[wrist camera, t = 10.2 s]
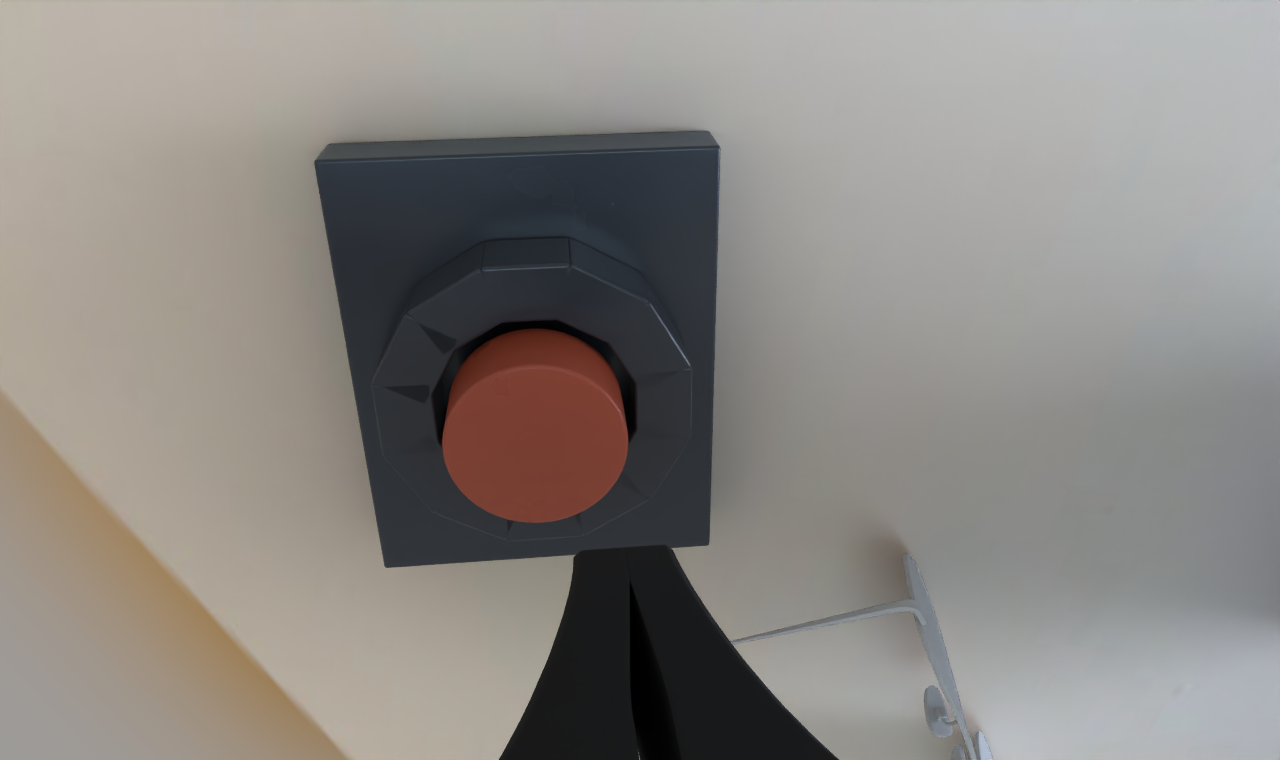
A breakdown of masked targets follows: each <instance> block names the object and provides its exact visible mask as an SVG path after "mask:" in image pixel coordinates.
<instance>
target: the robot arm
mask: <svg viewBox="0 0 1280 760" xmlns="http://www.w3.org/2000/svg"><path fill="white" fill-rule="evenodd" d="M637 747H638V748H637ZM638 752H639V754H638ZM639 756H640V760H839V759H838V758H837V757H835V756H834V755H833V754H832V753H831V752H830V751H829V750H828V749H827V748H826V747H825V746H824V745H823V744H822V743H820V742H819V741H818V740H817V739H816V738H815V737H814V736H813V735H812V734H811V733H810V732H809V731H808V730H807V729H806V728H805V727H804V726H803V725H802V724H801V723H800V722H799V721H798V720H797V719H796V718H795V717H794V716H793V715H792V714H791V713H790V712H789V711H788V710H787V709H786V708H785V707H784V706H783V705H782V703H781V702H780V701H779V700H778V699H777V698H776V697H775V696H774V695H773V694H772V692H771V691H770V690H769V689H768V688H767V687H766V686H765V684H764V683H763V682H762V681H761V680H760V678H759V677H758V676H757V675H756V674H755V672H754V671H753V670H752V669H751V668H750V667H749V665H748V664H747V663H746V662H745V660H744V659H743V658H742V657H741V655H740V654H739V653H738V651H737V650H736V649H735V648H734V646H733V645H732V644H731V642H730V641H729V639H728V638H727V637H726V635H725V634H724V633H723V631H722V630H721V628H720V627H719V626H718V624H717V623H716V622H715V620H714V619H713V617H712V616H711V614H710V613H709V611H708V610H707V609H706V607H705V606H704V604H703V602H702V601H701V599H700V598H699V596H698V595H697V593H696V591H695V590H694V588H693V587H692V585H691V583H690V582H689V580H688V578H687V576H686V575H685V573H684V571H683V569H682V567H681V566H680V564H679V562H678V560H677V558H676V556H675V553H674V551H673V550H672V549H671V548H669V547H668V546H667V545H666V544H665V545H651V546H636V547H622V548H607V549H593V550H581V551H580V552H579V553H578V554H577V555H576V556H574V561H573V574H572V581H571V586H570V591H569V595H568V599H567V603H566V606H565V610H564V614H563V617H562V620H561V623H560V626H559V629H558V632H557V635H556V638H555V640H554V643H553V646H552V649H551V652H550V655H549V657H548V660H547V662H546V665H545V667H544V669H543V671H542V674H541V676H540V678H539V681H538V683H537V685H536V688H535V690H534V692H533V695H532V697H531V699H530V701H529V703H528V706H527V708H526V710H525V712H524V714H523V716H522V718H521V720H520V722H519V724H518V726H517V728H516V730H515V731H514V733H513V735H512V737H511V739H510V741H509V742H508V744H507V746H506V748H505V750H504V752H503V753H502V755H501V757H500V759H499V760H639Z"/></svg>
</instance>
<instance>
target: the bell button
mask: <svg viewBox="0 0 1280 760" xmlns="http://www.w3.org/2000/svg"><path fill="white" fill-rule="evenodd" d="M442 449H443V456H444V461H445V464H446V467H447V470H448V472H449V474H450V476H451V478H452V480H453V481H454V483H455V484H456V485H457V487H458V488H459V489H460V491H461V492H462V493H463V494H464V495H465V496H466V497H467V498H468V499H469V500H471V501H472V502H473V503H474V504H476V505H477V506H479V507H480V508H482V509H484V510H485V511H487V512H489V513H491V514H494V515H496V516H499V517H502V518H505V519H508V520H513V521H518V522H527V523H543V522H551V521H556V520H561V519H565V518H568V517H571V516H573V515H576V514H578V513H580V512H582V511H584V510H586V509H588V508H589V507H591V506H592V505H594V504H595V503H597V502H598V501H599V500H600V499H601V498H603V497H604V496H605V495H606V494H607V492H608V491H609V490H610V489H611V488H612V487H613V485H614V484H615V482H616V481H617V480H618V478H619V476H620V474H621V472H622V470H623V467H624V465H625V462H626V458H627V453H628V431H627V425H626V419H625V413H624V407H623V401H622V395H621V390H620V386H619V382H618V380H617V377H616V375H615V373H614V371H613V370H612V368H611V366H610V364H609V363H608V362H607V361H606V360H605V358H604V357H603V356H602V355H601V354H600V353H599V352H598V351H597V350H596V349H594V348H593V347H592V346H590V345H589V344H587V343H586V342H584V341H582V340H580V339H579V338H577V337H574V336H572V335H569V334H567V333H563V332H560V331H556V330H549V329H522V330H516V331H512V332H508V333H505V334H502V335H500V336H497V337H495V338H493V339H491V340H489V341H487V342H486V343H484V344H483V345H481V346H480V347H478V348H477V349H476V350H475V351H474V352H473V353H471V354H470V355H469V356H468V358H467V359H466V360H465V361H464V362H463V364H462V365H461V367H460V368H459V370H458V372H457V373H456V376H455V378H454V380H453V383H452V387H451V390H450V395H449V401H448V407H447V412H446V418H445V424H444V430H443V438H442Z"/></svg>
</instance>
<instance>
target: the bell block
mask: <svg viewBox="0 0 1280 760" xmlns="http://www.w3.org/2000/svg"><path fill="white" fill-rule="evenodd" d="M314 165H315V170H316V176H317V182H318V188H319V193H320V199H321V205H322V211H323V216H324V222H325V228H326V233H327V239H328V245H329V251H330V256H331V262H332V268H333V274H334V279H335V285H336V291H337V297H338V302H339V308H340V314H341V319H342V325H343V331H344V337H345V342H346V348H347V354H348V360H349V365H350V371H351V377H352V383H353V388H354V394H355V400H356V405H357V411H358V417H359V423H360V428H361V434H362V440H363V446H364V451H365V457H366V463H367V469H368V474H369V480H370V486H371V492H372V497H373V503H374V509H375V514H376V520H377V526H378V532H379V537H380V543H381V549H382V555H383V560H384V566H385V567H386V568H392V567H406V566H421V565H435V564H449V563H464V562H478V561H492V560H507V559H521V558H535V557H550V556H564V555H577V554H578V553H579V552H580V551H581V550H593V549H607V548H622V547H636V546H651V545H665V544H666V545H667V546H668V547H669V548H679V547H693V546H707V545H709V540H710V504H711V468H712V432H713V396H714V360H715V324H716V288H717V252H718V216H719V180H720V146H719V145H718V143H717V142H716V140H715V139H714V138H713V136H712V135H711V133H710V132H709V131H689V132H660V133H631V134H602V135H573V136H544V137H515V138H486V139H457V140H428V141H399V142H369V143H340V144H329V145H327V146H326V148H325V149H324V150H323V151H322V152H321V154H320V155H319V156H318V157H317V159H316V160H315V162H314ZM522 329H549V330H556V331H560V332H563V333H567V334H569V335H572V336H574V337H577V338H579V339H580V340H582V341H584V342H586V343H587V344H589V345H590V346H592V347H593V348H594V349H596V350H597V351H598V352H599V353H600V354H601V355H602V356H603V357H604V358H605V360H606V361H607V362H608V363H609V364H610V366H611V368H612V370H613V371H614V373H615V375H616V377H617V380H618V382H619V386H620V390H621V395H622V401H623V407H624V413H625V419H626V425H627V431H628V453H627V458H626V462H625V465H624V467H623V470H622V472H621V474H620V476H619V478H618V480H617V481H616V482H615V484H614V485H613V487H612V488H611V489H610V490H609V491H608V492H607V494H606V495H605V496H604V497H603V498H601V499H600V500H599V501H598V502H597V503H595V504H594V505H592V506H591V507H589V508H588V509H586V510H584V511H582V512H580V513H578V514H576V515H573V516H571V517H568V518H565V519H561V520H556V521H551V522H543V523H527V522H518V521H513V520H508V519H505V518H502V517H499V516H496V515H494V514H491V513H489V512H487V511H485V510H484V509H482V508H480V507H479V506H477V505H476V504H474V503H473V502H472V501H471V500H469V499H468V498H467V497H466V496H465V495H464V494H463V493H462V492H461V491H460V489H459V488H458V487H457V485H456V484H455V483H454V481H453V480H452V478H451V476H450V474H449V472H448V470H447V467H446V464H445V461H444V456H443V449H442V438H443V430H444V424H445V418H446V412H447V407H448V401H449V395H450V390H451V387H452V383H453V380H454V378H455V376H456V373H457V372H458V370H459V368H460V367H461V365H462V364H463V362H464V361H465V360H466V359H467V358H468V356H469V355H470V354H471V353H473V352H474V351H475V350H476V349H477V348H478V347H480V346H481V345H483V344H484V343H486V342H487V341H489V340H491V339H493V338H495V337H497V336H500V335H502V334H505V333H508V332H512V331H516V330H522Z"/></svg>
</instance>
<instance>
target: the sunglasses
mask: <svg viewBox="0 0 1280 760" xmlns="http://www.w3.org/2000/svg"><path fill="white" fill-rule="evenodd" d="M903 564H904V571H905V577H906V583H907V587H908V592H909V597H910V600H901V601H895V602H890V603H885V604H881V605H877V606H873V607H869V608H865V609H861V610H857V611H852V612H848V613H844V614H840V615H836V616H832V617H828V618H823V619H819V620H815V621H811V622H807V623H803V624H799V625H795V626H790V627H786V628H782V629H778V630H774V631H770V632H766V633H762V634H757V635H753V636H749V637H745V638H741V639H737V640H733V641H730V642H731V644H732V645H733V644H738V643H743V642H749V641H754V640H759V639H764V638H769V637H774V636H779V635H784V634H789V633H794V632H799V631H804V630H809V629H814V628H819V627H824V626H829V625H834V624H840V623H845V622H850V621H855V620H860V619H865V618H870V617H875V616H880V615H885V614H890V613H897V612H912V613H914V617H915V621H916V624H917V627H918V630H919V633H920V636H921V639H922V642H923V645H924V648H925V650H926V653H927V655H928V658H929V660H930V663H931V665H932V667H933V670H934V672H935V675H936V677H937V680H938V682H939V685H940V687H941V689H942V691H943V693H944V695H945V697H946V699H947V701H948V703H949V705H950V707H951V709H952V711H953V713H954V716H955V721H953V722H950V719H949V716H948V713H947V710H946V706H945V703H944V700H943V697H942V695H941V693H940V691H939V689H938V688H937V687H935V686H933V685H932V686H929V687H928V688H926V690H925V692H924V708H925V715H926V721H927V724H928V727H929V730H930V731H931V733H932V734H934V735H935V736H937V737H941V738H946V737H949V736H950V735H951V734H952V726H951V725H955V724H957V723H958V725H959V727H960V729H961V732H962V734H963V738H964V742H965V746H966V750H967V753H968V757H969V760H994V759H993V757H992V754H991V751H990V749H989V746H988V744H987V741H986V739H985V737H984V735H983V734H982V732H976V733H975V750H974V747H973V744H972V741H971V738H970V735H969V732H968V730H967V727H966V724H965V720H964V716H963V712H962V708H961V704H960V700H959V696H958V692H957V688H956V685H955V681H954V677H953V673H952V669H951V666H950V662H949V658H948V655H947V651H946V648H945V644H944V641H943V637H942V634H941V631H940V627H939V624H938V621H937V618H936V615H935V612H934V608H933V605H932V602H931V600H930V597H929V594H928V591H927V589H926V586H925V583H924V581H923V578H922V576H921V574H920V571H919V569H918V567H917V565H916V563H915V561H914V559H913V558H912V556H911V555H910V554H909V553H907V554H905V555H903ZM951 760H966V758H965V753H964V749H963V746H962V745H960V744H957V745H956V746H955V748H954V750H953V752H952V755H951Z"/></svg>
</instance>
